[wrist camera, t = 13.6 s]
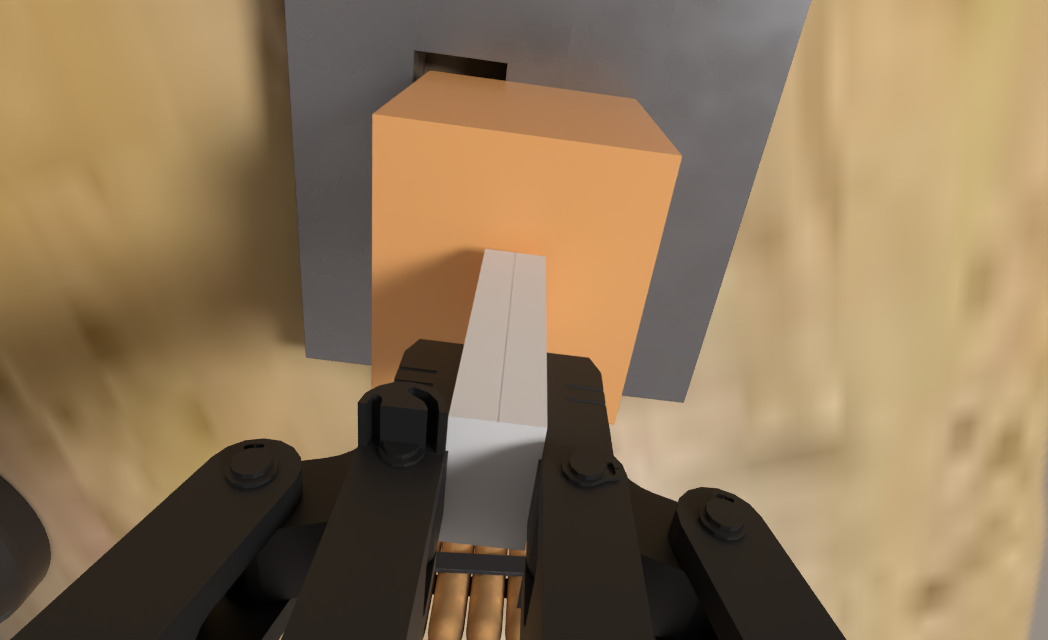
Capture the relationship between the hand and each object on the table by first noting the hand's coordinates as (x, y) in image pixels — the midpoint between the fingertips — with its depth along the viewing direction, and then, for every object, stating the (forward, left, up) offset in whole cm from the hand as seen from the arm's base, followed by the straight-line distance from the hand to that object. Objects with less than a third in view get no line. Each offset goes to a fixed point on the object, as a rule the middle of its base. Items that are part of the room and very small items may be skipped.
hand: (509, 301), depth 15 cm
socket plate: (0, 0, -11) cm, 11 cm away
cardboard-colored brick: (0, 0, -11) cm, 11 cm away
